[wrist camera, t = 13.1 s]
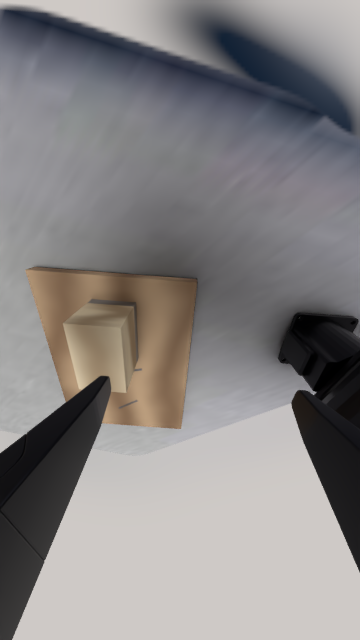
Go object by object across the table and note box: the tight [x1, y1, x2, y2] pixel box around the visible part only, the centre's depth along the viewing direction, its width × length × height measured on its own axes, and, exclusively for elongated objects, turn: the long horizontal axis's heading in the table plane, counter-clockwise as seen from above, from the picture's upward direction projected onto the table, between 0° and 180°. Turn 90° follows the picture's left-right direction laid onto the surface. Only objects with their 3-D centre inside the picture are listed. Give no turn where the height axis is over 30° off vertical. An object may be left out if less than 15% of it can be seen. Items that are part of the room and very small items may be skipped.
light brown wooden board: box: [26, 267, 197, 429], centre depth 23 cm, size 16×22×1 cm
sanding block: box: [63, 299, 138, 393], centre depth 18 cm, size 4×7×5 cm, turn 176°
